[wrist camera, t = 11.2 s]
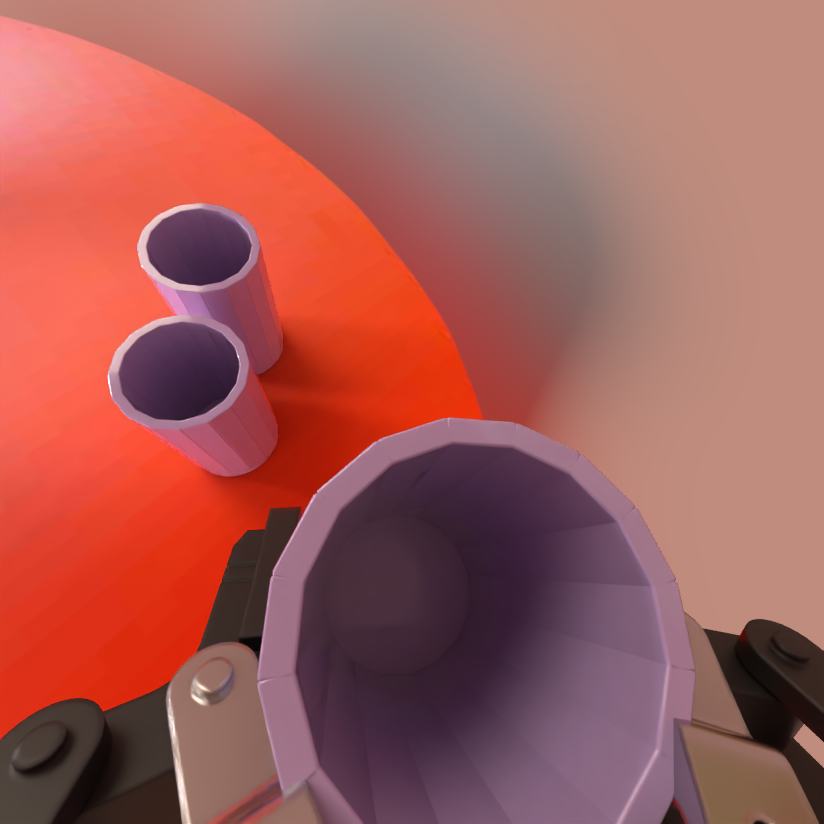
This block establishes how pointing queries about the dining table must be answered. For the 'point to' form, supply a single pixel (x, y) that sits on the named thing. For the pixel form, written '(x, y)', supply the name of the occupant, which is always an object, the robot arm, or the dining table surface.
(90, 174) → the dining table surface
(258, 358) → the cup
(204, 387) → the middle cup
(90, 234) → the dining table surface
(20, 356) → the dining table surface
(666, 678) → the end cup
